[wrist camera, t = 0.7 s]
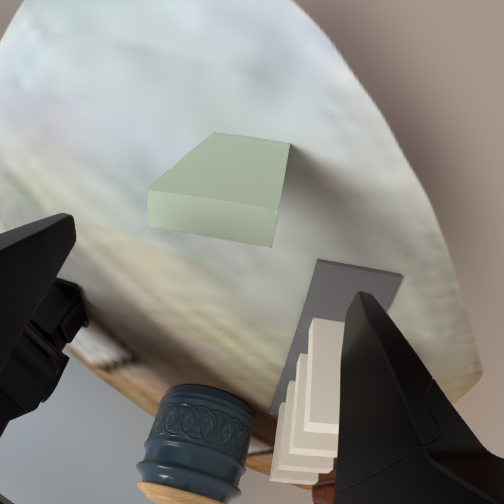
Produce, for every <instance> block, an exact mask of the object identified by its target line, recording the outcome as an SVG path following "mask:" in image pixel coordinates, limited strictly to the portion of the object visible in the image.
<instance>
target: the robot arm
mask: <svg viewBox="0 0 504 504" xmlns="http://www.w3.org/2000/svg"><path fill="white" fill-rule="evenodd" d="M75 242H76V230H75V223H74V218H73V216H72V215H70V214H66V213H59V214H56V215H53V216H50V217H47V218H44V219H41V220H38V221H35V222H32V223H29V224H26V225H23V226H21V227H18V228H15V229H12V230H9V231H7V232H4V233H1V234H0V437H1V435H2V434H3V432H4V430H5V428H6V426H7V424H8V422H9V421H10V420H12V419H15V418H17V417H20V416H22V415H24V414H27V413H29V412H31V411H33V410H35V409H36V408H37V407H38V405H39V404H40V402H42V403H43V402H45V401H46V400H47V399H48V398H49V397H50V395H51V394H52V393H53V391H54V390H55V388H56V386H57V384H58V382H59V380H60V378H61V376H62V373H63V371H64V369H65V367H66V365H67V363H68V361H69V357H68V356H67V355H65V354H63V353H62V350H63V349H64V347H65V345H66V344H67V343H71V342H72V340H73V338H74V337H75V335H76V334H77V332H78V331H79V329H80V328H81V326H82V327H86V328H87V327H88V325H89V322H88V319H87V316H86V313H85V310H84V307H83V303H82V300H81V297H80V293H79V290H78V287H77V286H76V285H75V284H73V283H70V282H67V281H63V280H60V279H57V278H56V276H57V274H58V273H59V271H60V269H61V267H62V265H63V264H64V262H65V260H66V258H67V256H68V255H69V253H70V251H71V249H72V248H73V246H74V244H75ZM334 494H335V495H334V497H333V504H504V459H503V458H501V457H498V456H496V455H494V454H492V453H491V452H489V451H488V450H487V449H486V448H485V447H484V446H483V445H482V444H481V443H480V441H479V440H478V439H477V437H476V436H475V435H474V434H473V432H472V431H471V430H470V428H469V427H468V425H467V424H466V423H465V421H464V420H463V419H462V418H461V416H460V415H459V414H458V412H457V411H456V410H455V408H454V407H453V406H452V404H451V403H450V402H449V400H448V399H447V397H446V396H445V394H444V393H443V392H442V390H441V389H440V387H439V386H438V384H437V383H436V381H435V380H434V379H432V376H431V374H430V373H429V371H428V370H427V368H426V367H425V365H424V364H423V363H422V361H421V360H420V358H419V357H418V355H417V354H416V353H415V351H414V350H413V348H412V347H411V346H410V344H409V343H408V341H407V340H406V339H405V337H404V336H403V334H402V333H401V332H400V330H399V329H398V328H397V326H396V325H395V324H394V322H393V321H392V320H391V318H390V317H389V315H388V314H387V313H386V311H385V310H384V309H383V308H382V306H381V305H380V304H379V302H378V301H377V300H376V298H375V297H374V296H373V295H372V294H371V293H368V292H364V291H358V292H357V293H356V295H355V297H354V298H353V300H352V302H351V304H350V306H349V308H348V310H347V312H346V316H345V325H344V335H343V344H342V352H341V362H340V409H339V433H338V450H337V465H336V477H335V488H334ZM0 504H14V503H12V502H11V501H9V500H8V499H7V498H6V497H4V496H3V495H1V494H0Z"/></svg>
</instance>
